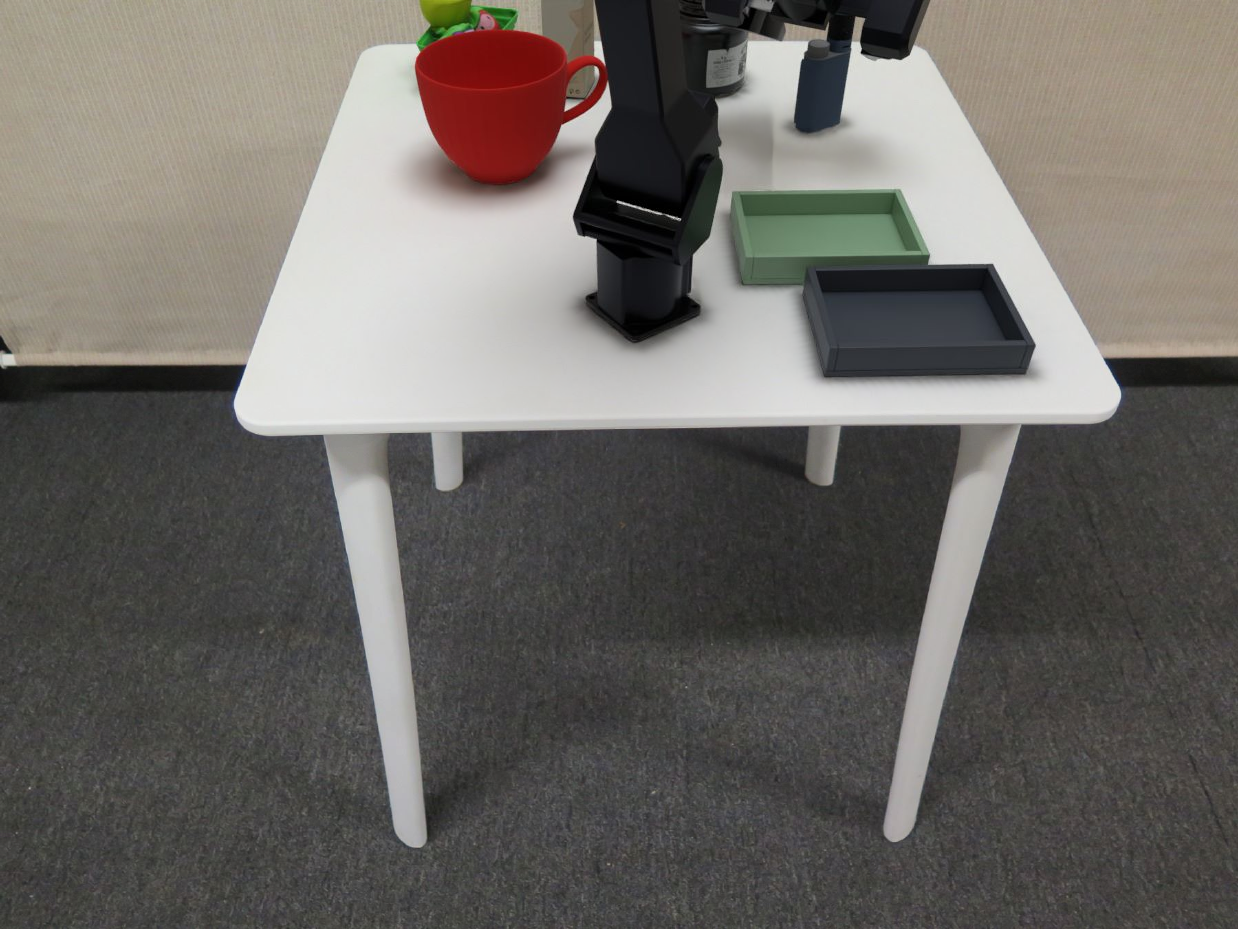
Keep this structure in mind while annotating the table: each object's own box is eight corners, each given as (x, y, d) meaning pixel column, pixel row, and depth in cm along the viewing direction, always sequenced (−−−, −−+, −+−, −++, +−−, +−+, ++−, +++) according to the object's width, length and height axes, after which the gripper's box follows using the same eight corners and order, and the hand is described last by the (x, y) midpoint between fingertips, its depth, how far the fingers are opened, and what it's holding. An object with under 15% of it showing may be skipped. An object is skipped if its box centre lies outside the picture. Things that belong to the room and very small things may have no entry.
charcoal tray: (824, 376, 71) (829, 348, 69) (802, 293, 78) (806, 265, 76) (1026, 373, 71) (1036, 344, 69) (984, 291, 78) (993, 263, 77)
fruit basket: (490, 100, 103) (479, -16, 95) (409, 92, 105) (391, -24, 97) (524, 57, 111) (516, -54, 103) (447, 49, 113) (434, -60, 105)
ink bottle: (729, 106, 102) (739, -19, 94) (646, 93, 104) (649, -31, 96) (755, 69, 109) (766, -51, 100) (677, 57, 111) (681, -61, 103)
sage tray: (743, 284, 79) (745, 256, 77) (729, 217, 86) (731, 190, 85) (923, 282, 79) (930, 254, 78) (895, 215, 87) (900, 188, 85)
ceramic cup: (631, 180, 91) (632, 69, 84) (447, 213, 87) (432, 99, 80) (585, 119, 100) (583, 15, 93) (416, 147, 96) (400, 40, 89)
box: (584, 99, 103) (582, -15, 96) (543, 96, 104) (537, -18, 96) (596, 78, 107) (594, -33, 99) (556, 75, 108) (551, -36, 100)
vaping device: (845, 122, 99) (866, -5, 91) (805, 136, 97) (822, 7, 89) (827, 113, 101) (846, -13, 93) (787, 126, 99) (803, -2, 90)
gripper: (951, -131, 76) (959, -21, 90) (725, -162, 82) (766, -54, 97) (897, 12, 76) (914, 98, 91) (677, -30, 83) (725, 57, 97)
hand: (828, 45), depth 94 cm, fingers open, 9 cm apart
